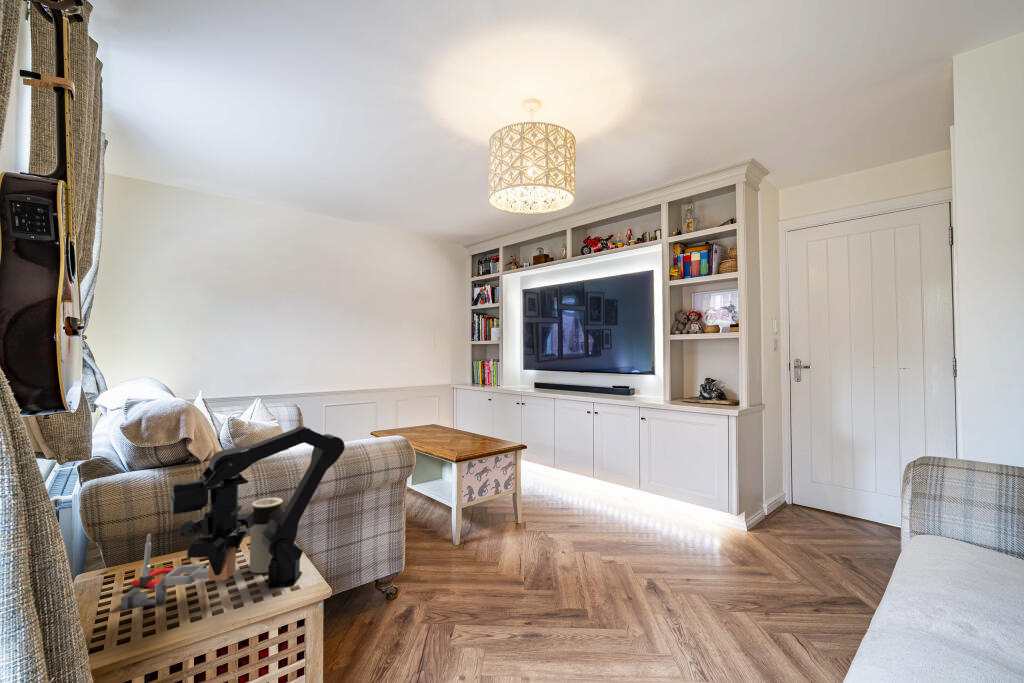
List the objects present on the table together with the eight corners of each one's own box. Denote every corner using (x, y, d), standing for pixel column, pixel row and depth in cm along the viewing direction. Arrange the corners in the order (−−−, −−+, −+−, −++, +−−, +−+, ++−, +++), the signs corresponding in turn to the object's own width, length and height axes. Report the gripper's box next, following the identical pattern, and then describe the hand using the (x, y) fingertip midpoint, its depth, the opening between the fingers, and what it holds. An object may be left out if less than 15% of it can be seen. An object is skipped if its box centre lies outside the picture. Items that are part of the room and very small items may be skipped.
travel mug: (267, 575, 119) (268, 507, 119) (242, 572, 120) (243, 505, 121) (288, 562, 126) (290, 498, 127) (265, 558, 128) (266, 495, 129)
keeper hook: (171, 597, 108) (171, 579, 108) (159, 607, 104) (160, 587, 104) (133, 599, 107) (134, 580, 107) (120, 609, 103) (121, 589, 103)
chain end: (238, 568, 110) (238, 544, 110) (224, 582, 104) (224, 556, 104) (178, 572, 109) (178, 547, 109) (160, 585, 102) (161, 559, 102)
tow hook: (161, 570, 122) (127, 586, 113) (165, 522, 123) (131, 534, 114) (188, 573, 121) (156, 590, 111) (191, 524, 121) (160, 537, 112)
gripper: (210, 493, 115) (209, 554, 115) (161, 520, 97) (159, 593, 97) (255, 492, 117) (254, 552, 116) (216, 518, 98) (214, 590, 98)
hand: (222, 570), depth 107 cm, fingers closed on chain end, 4 cm apart
